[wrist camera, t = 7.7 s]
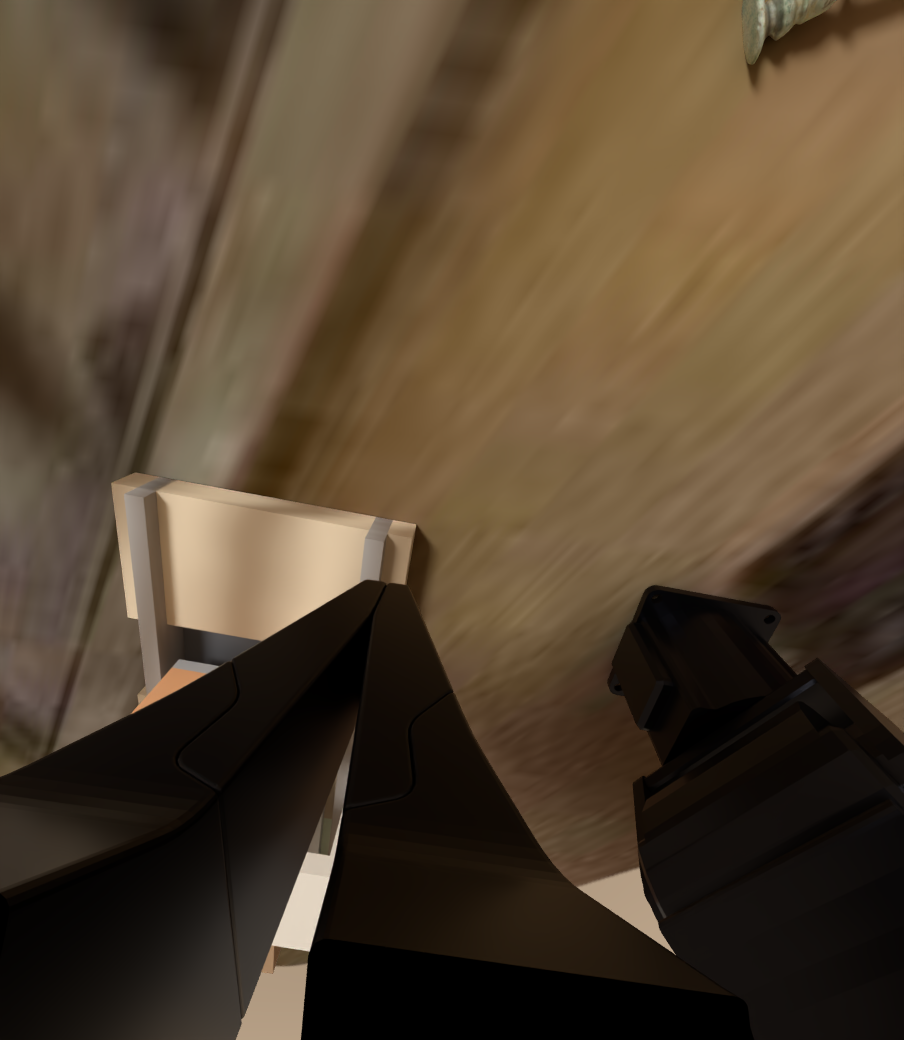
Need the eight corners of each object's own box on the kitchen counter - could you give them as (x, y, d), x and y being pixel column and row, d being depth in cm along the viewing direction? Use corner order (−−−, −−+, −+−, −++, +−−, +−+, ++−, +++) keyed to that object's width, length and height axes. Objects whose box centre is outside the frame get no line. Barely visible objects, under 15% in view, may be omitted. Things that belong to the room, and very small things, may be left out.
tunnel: (377, 748, 25) (347, 880, 19) (366, 819, 27) (336, 955, 21) (139, 708, 24) (33, 829, 19) (148, 783, 27) (57, 912, 21)
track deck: (416, 524, 21) (409, 546, 19) (359, 867, 32) (351, 906, 29) (135, 472, 21) (96, 489, 19) (172, 836, 31) (150, 873, 29)
